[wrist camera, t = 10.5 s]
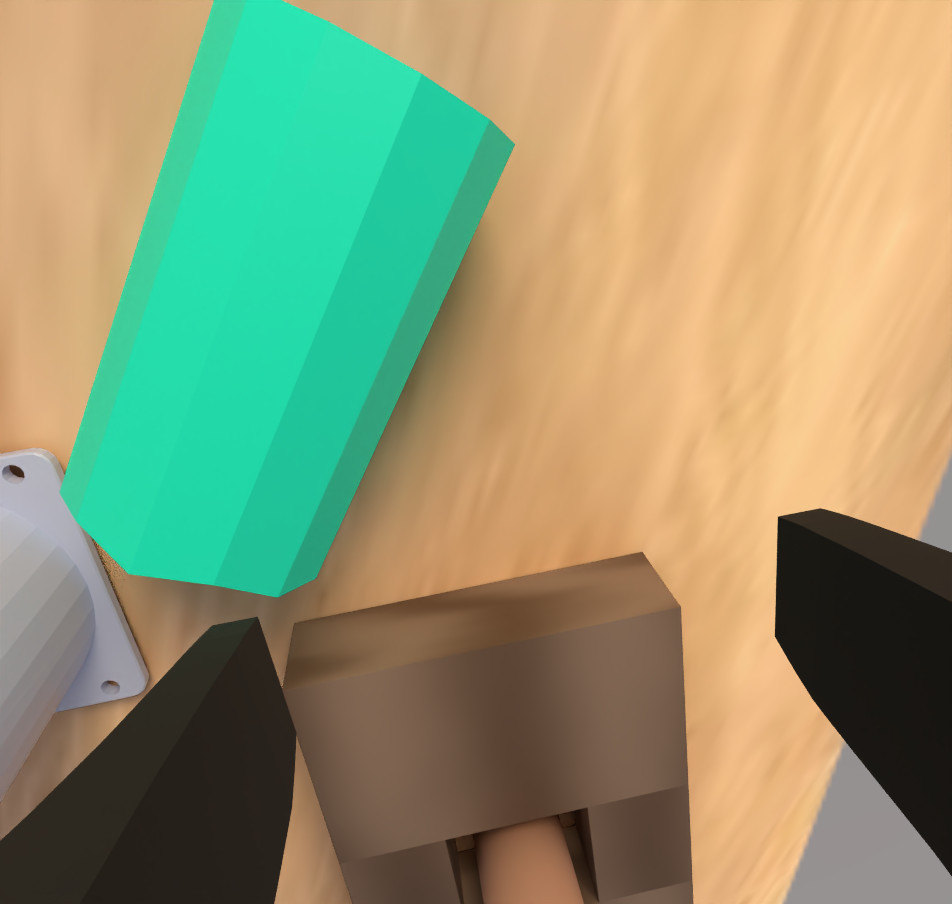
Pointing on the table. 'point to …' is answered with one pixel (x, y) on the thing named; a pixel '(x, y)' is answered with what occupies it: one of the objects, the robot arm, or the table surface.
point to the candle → (275, 300)
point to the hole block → (501, 732)
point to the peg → (526, 864)
